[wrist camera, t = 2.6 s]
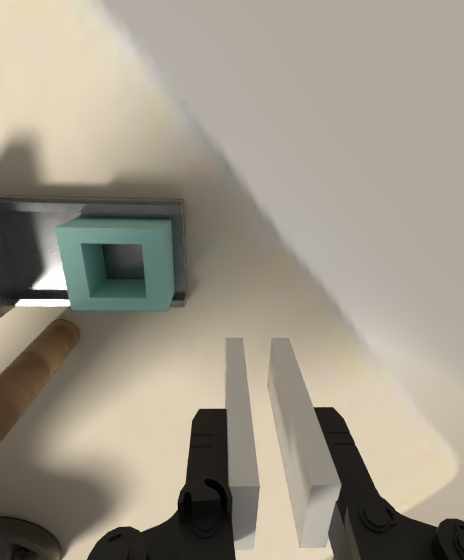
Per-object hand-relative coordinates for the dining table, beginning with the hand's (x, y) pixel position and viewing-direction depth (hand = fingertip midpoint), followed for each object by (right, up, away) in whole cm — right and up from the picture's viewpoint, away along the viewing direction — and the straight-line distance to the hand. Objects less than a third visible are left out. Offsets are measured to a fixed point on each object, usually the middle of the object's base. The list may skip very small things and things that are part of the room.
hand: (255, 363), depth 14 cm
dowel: (-19, -2, +18) cm, 26 cm away
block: (-10, +6, +14) cm, 18 cm away
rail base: (-15, +7, +15) cm, 22 cm away
